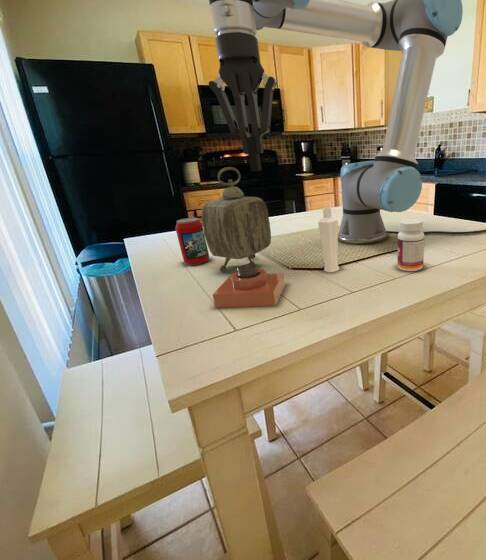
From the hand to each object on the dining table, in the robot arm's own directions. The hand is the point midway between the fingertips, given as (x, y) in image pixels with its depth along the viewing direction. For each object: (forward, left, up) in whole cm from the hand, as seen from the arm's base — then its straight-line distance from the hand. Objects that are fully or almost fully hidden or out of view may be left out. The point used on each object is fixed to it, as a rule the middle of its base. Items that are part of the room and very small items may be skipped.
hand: (256, 170), depth 71 cm
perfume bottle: (-14, -4, -25) cm, 29 cm away
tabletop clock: (+9, -9, -25) cm, 28 cm away
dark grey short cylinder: (+2, +10, -20) cm, 22 cm away
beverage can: (+25, -15, -25) cm, 38 cm away
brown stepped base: (+2, +10, -24) cm, 26 cm away
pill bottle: (-33, -3, -25) cm, 41 cm away
